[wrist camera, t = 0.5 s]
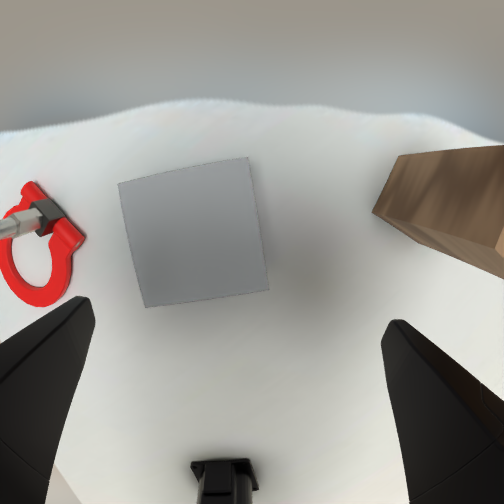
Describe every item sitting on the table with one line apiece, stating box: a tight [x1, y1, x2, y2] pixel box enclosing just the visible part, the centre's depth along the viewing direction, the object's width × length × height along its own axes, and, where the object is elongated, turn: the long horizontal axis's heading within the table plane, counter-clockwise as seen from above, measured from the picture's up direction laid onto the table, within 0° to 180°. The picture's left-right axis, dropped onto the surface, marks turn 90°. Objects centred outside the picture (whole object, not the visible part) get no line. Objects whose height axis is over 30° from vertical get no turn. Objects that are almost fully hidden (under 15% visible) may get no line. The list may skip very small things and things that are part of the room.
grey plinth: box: [118, 157, 269, 308], centre depth 20 cm, size 8×8×4 cm
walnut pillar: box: [372, 145, 504, 279], centre depth 15 cm, size 5×5×13 cm
